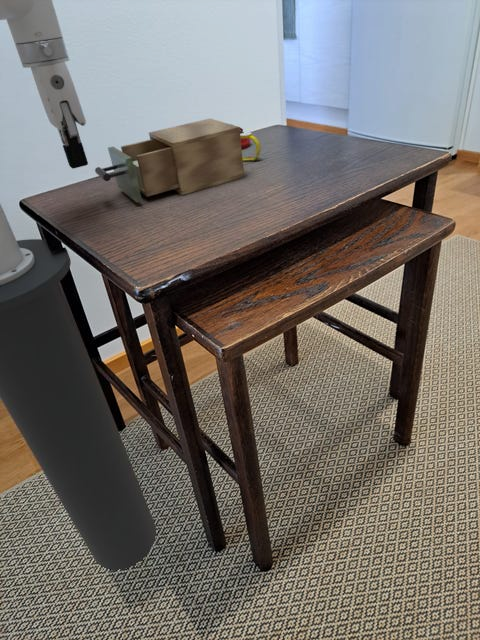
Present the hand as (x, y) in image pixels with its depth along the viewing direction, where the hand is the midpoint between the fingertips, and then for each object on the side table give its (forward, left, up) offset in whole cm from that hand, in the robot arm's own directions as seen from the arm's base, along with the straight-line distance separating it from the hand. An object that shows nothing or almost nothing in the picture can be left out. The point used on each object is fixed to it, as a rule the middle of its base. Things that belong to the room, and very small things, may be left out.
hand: (79, 165), depth 84 cm
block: (+13, 0, -7) cm, 14 cm away
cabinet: (+24, 0, -9) cm, 26 cm away
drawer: (+12, 0, -8) cm, 14 cm away
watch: (+38, +3, -9) cm, 39 cm away
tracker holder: (+43, +18, -9) cm, 47 cm away
